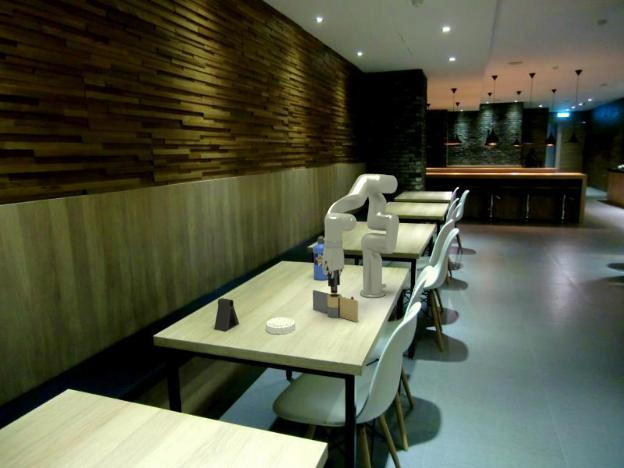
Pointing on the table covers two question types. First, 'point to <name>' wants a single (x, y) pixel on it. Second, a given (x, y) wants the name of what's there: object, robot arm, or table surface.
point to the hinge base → (324, 305)
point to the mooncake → (280, 325)
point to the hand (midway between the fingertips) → (333, 285)
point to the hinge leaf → (344, 306)
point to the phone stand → (226, 315)
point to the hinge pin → (334, 289)
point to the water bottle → (319, 260)
